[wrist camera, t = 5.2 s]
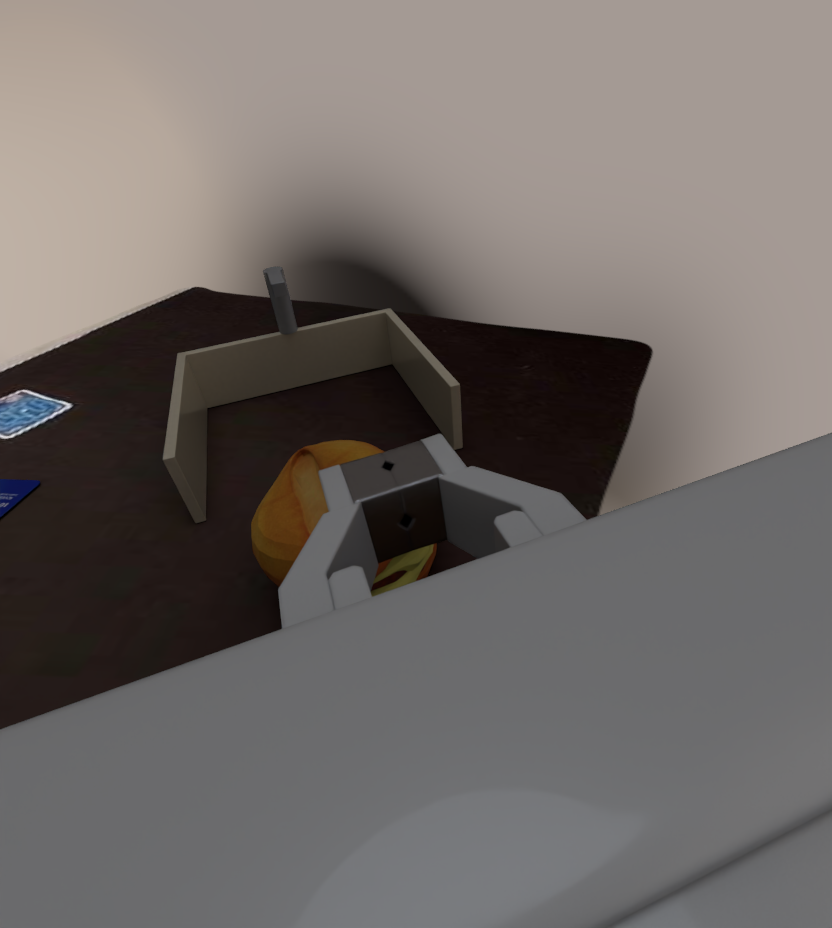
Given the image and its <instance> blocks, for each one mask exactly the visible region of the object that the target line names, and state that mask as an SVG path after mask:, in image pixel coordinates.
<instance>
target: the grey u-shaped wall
mask: <svg viewBox="0 0 832 928" xmlns="http://www.w3.org/2000/svg"><path fill="white" fill-rule="evenodd" d="M263 273H264V277H265V280H266V284H267V288H268V291H269V295H270V299H271V302H272V306H273V309H274V313H275V317H276V320H277V324H278V327H279V331H280V332H277V333H272V334H268V335H263V336H258V337H254V338H249V339H244V340H240V341H235V342H230V343H226V344H221V345H216V346H212V347H207V348H202V349H197V350H193V351H188V352H183V353H178V354H177V361H176V368H175V375H174V382H173V390H172V397H171V404H170V411H169V418H168V425H167V433H166V440H165V447H164V454H163V462H164V464H165V466H166V468H167V470H168V471H169V473H170V475H171V477H172V479H173V481H174V483H175V485H176V487H177V489H178V491H179V493H180V495H181V497H182V499H183V500H184V502H185V504H186V506H187V508H188V510H189V512H190V514H191V516H192V518H193V520H194V522H195V523H199V522H203V521H206V483H207V408H211V407H215V406H219V405H223V404H228V403H232V402H236V401H240V400H244V399H248V398H253V397H257V396H261V395H265V394H269V393H274V392H278V391H282V390H286V389H290V388H295V387H299V386H303V385H307V384H311V383H316V382H320V381H324V380H328V379H332V378H337V377H341V376H345V375H349V374H353V373H358V372H362V371H366V370H370V369H374V368H379V367H383V366H387V365H391V364H393V366H394V367H395V369H396V370H397V371H398V373H399V374H400V376H401V377H402V378H403V380H404V381H405V382H406V384H407V385H408V387H409V388H410V389H411V391H412V392H413V394H414V395H415V396H416V398H417V399H418V400H419V402H420V403H421V405H422V406H423V407H424V409H425V410H426V412H427V413H428V414H429V416H430V417H431V419H432V420H433V421H434V423H435V424H436V425H437V427H438V428H439V430H440V431H441V432H442V434H443V435H444V437H445V438H446V439H447V441H448V442H449V443H450V445H451V446H452V448H453V449H454V450H456V449H460V448H463V444H462V421H461V398H460V384H459V383H458V382H457V381H456V380H455V378H454V377H453V376H452V375H451V374H450V373H449V372H448V371H447V370H446V369H445V368H444V366H443V365H442V364H441V363H440V362H439V361H438V360H437V359H436V358H435V357H434V356H433V354H432V353H431V352H430V351H429V350H428V349H427V348H426V347H425V346H424V345H423V344H422V342H421V341H420V340H419V339H418V338H417V337H416V336H415V335H414V334H413V333H412V332H411V330H410V329H409V328H408V327H407V326H406V325H405V324H404V323H403V322H402V321H401V320H400V318H399V317H398V316H397V315H396V314H395V313H394V312H393V311H392V310H391V309H390V308H389V309H385V310H380V311H375V312H371V313H366V314H361V315H357V316H352V317H347V318H343V319H338V320H333V321H329V322H324V323H319V324H315V325H310V326H305V327H300V328H297V324H296V320H295V316H294V312H293V308H292V304H291V300H290V296H289V292H288V288H287V284H286V280H285V277H284V272H283V269H282V267H271V268H267V269H265V270H264V271H263Z"/></svg>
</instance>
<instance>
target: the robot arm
mask: <svg viewBox="0 0 832 928" xmlns="http://www.w3.org/2000/svg"><path fill="white" fill-rule="evenodd" d="M340 466H341V467H340ZM318 474H319V478H320V482H321V485H322V489H323V493H324V496H325V500H326V503H327V507H328V511H329V512H327V513H324V514H323V515H322V516H321V518H320V520H319V521H318V523H317V525H316V527H315V528H314V530H313V532H312V533H311V535H310V537H309V538H308V540H307V542H306V543H305V545H304V547H303V548H302V550H301V552H300V553H299V555H298V557H297V558H296V560H295V562H294V563H293V565H292V567H291V569H290V570H289V572H288V574H287V575H286V577H285V579H284V580H283V582H282V584H281V585H280V587H279V589H278V594H279V604H280V613H281V623H282V629H281V630H278V631H275V632H272V633H269V634H267V635H264V636H261V637H258V638H255V639H252V640H250V641H247V642H244V643H241V644H238V645H236V646H233V647H230V648H227V649H224V650H222V651H219V652H216V653H213V654H210V655H208V656H205V657H202V658H199V659H196V660H194V661H191V662H188V663H185V664H182V665H180V666H177V667H174V668H171V669H168V670H166V671H163V672H160V673H157V674H154V675H152V676H149V677H146V678H143V679H140V680H138V681H135V682H132V683H129V684H126V685H124V686H121V687H118V688H115V689H112V690H110V691H107V692H104V693H101V694H98V695H96V696H93V697H90V698H87V699H84V700H82V701H79V702H76V703H73V704H70V705H68V706H65V707H62V708H59V709H56V710H54V711H51V712H48V713H45V714H42V715H40V716H37V717H34V718H31V719H28V720H26V721H23V722H20V723H17V724H14V725H12V726H9V727H6V728H3V729H0V928H832V433H830V434H827V435H824V436H821V437H818V438H816V439H813V440H810V441H807V442H804V443H802V444H799V445H796V446H793V447H790V448H788V449H785V450H782V451H779V452H776V453H774V454H771V455H768V456H765V457H763V458H760V459H757V460H754V461H751V462H749V463H746V464H743V465H740V466H737V467H735V468H732V469H729V470H726V471H723V472H720V473H718V474H715V475H712V476H709V477H706V478H704V479H701V480H698V481H695V482H692V483H690V484H687V485H684V486H681V487H678V488H676V489H673V490H670V491H667V492H664V493H661V494H659V495H656V496H653V497H650V498H647V499H645V500H642V501H639V502H636V503H634V504H631V505H628V506H625V507H622V508H619V509H617V510H614V511H611V512H608V513H605V514H603V515H600V516H597V517H594V518H592V519H589V520H586V519H585V518H584V517H583V516H582V515H581V514H580V513H579V512H578V511H577V510H576V508H575V507H574V506H573V505H572V504H571V503H570V502H569V501H568V500H567V499H566V498H565V497H564V496H563V495H562V494H561V493H558V492H555V491H552V490H549V489H546V488H542V487H539V486H536V485H533V484H529V483H526V482H523V481H520V480H516V479H513V478H510V477H507V476H503V475H500V474H497V473H494V472H490V471H487V470H484V469H481V468H477V467H474V466H471V467H468V468H467V467H466V466H465V464H464V463H463V462H462V460H461V459H460V458H459V456H458V455H457V454H456V452H455V451H454V450H453V448H452V447H451V446H450V444H449V443H448V442H447V440H446V439H445V438H444V436H443V435H442V434H437V435H434V436H431V437H428V438H425V439H422V440H420V441H417V442H414V443H411V444H408V445H405V446H402V447H399V448H396V449H393V450H389V451H386V452H383V453H378V454H374V455H371V456H367V457H364V458H360V459H357V460H353V461H350V462H346V463H343V464H340V465H335V466H332V467H329V468H326V469H323V470H319V471H318ZM445 540H448V541H449V542H450V543H452V544H454V545H455V546H457V547H459V548H461V549H462V550H464V551H466V552H468V553H469V554H471V555H473V556H475V557H476V558H478V559H477V560H474V561H471V562H468V563H466V564H463V565H460V566H457V567H454V568H452V569H449V570H446V571H443V572H440V573H437V574H435V575H432V576H429V577H426V578H423V579H421V580H418V581H415V582H412V583H409V584H407V585H404V586H401V587H398V588H395V589H393V590H390V591H387V592H384V593H381V594H379V595H376V596H373V597H372V595H371V589H372V586H373V582H374V579H375V576H376V573H377V569H378V566H379V565H378V563H381V562H384V561H386V560H389V559H392V558H394V557H397V556H400V555H402V554H405V553H408V552H410V551H413V550H416V549H419V548H423V547H426V546H429V545H432V544H435V543H438V542H442V541H445Z"/></svg>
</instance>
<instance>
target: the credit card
mask: <svg viewBox="0 0 832 928" xmlns="http://www.w3.org/2000/svg"><path fill="white" fill-rule="evenodd" d="M39 484H40V481H35V480H6V479H0V517H2V516H3V515H4V514H5V513H6V512H7V511H9V510H10V509H11V508H12V507H13V506H14V505H16V504H17V503H18V502H19V501H20V500H21V499H23V498H24V497H25V496H26V495H27V494H28V493H30V492H31V491H32V490H33V489H34V488H35V487H37V486H38V485H39Z"/></svg>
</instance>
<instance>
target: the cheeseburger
mask: <svg viewBox="0 0 832 928" xmlns="http://www.w3.org/2000/svg"><path fill="white" fill-rule="evenodd" d="M383 452H384V451H382V450H380V449H379V448H377V447H375V446H373V445H370V444H368V443H365V442H359V441H353V440H336V441H329V442H323V443H320V444H316V445H311V446H306V447H304V448H302V449H300V450H299V451H297V452H296V453H295V454H294V455H293V456H292V457H291V458H290V459H289V461H288V462H287V464H286V465H285V467H284V469H283V470H282V472H281V473H280V475H279V476H278V478H277V479H276V481H275V482H274V484H273V485H272V487H271V488H270V490H269V491H268V493H267V494H266V496H265V497H264V499H263V500H262V502H261V503H260V505H259V506H258V509H257V511H256V513H255V516H254V518H253V520H252V523H251V529H252V547H253V553H254V555H255V557H256V559H257V560H258V562H259V564H260V566H261V568H262V569H263V571H264V572H265V574H266V575H267V577H268V578H269V579H270V580H272V581H273V582H274V583H275V584H276V585H277V586H279V587H280V585H281V584H282V582H283V580H284V579H285V577H286V575H287V574H288V572H289V570H290V569H291V567H292V565H293V563H294V562H295V560H296V558H297V557H298V555H299V553H300V552H301V550H302V548H303V547H304V545H305V543H306V542H307V540H308V538H309V537H310V535H311V533H312V532H313V530H314V528H315V527H316V525H317V523H318V521H319V520H320V518H321V516H322V515H323V514H324V513H327V512H329V511H328V507H327V503H326V500H325V496H324V493H323V489H322V485H321V482H320V478H319V474H318V471H319V470H323V469H326V468H329V467H332V466H335V465H340V464H343V463H346V462H350V461H353V460H357V459H360V458H364V457H367V456H371V455H374V454H378V453H383ZM340 467H341V466H340ZM436 548H437V543H435V544H432V545H429V546H426V547H423V548H419V549H416V550H413V551H410V552H408V553H405V554H402V555H400V556H397V557H394V558H392V559H389V560H386V561H384V562H381V563H378V565H379V566H378V569H377V573H376V576H375V579H374V582H373V586H372V589H371V595H372V597H373V596H376V595H379V594H381V593H384V592H387V591H390V590H393V589H395V588H398V587H401V586H404V585H407V584H409V583H412V582H415V581H418V580H421V579H423V578H426V577H427V576H428V573H429V570H430V568H431V565H432V563H433V560H434V558H435V555H436Z"/></svg>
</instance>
